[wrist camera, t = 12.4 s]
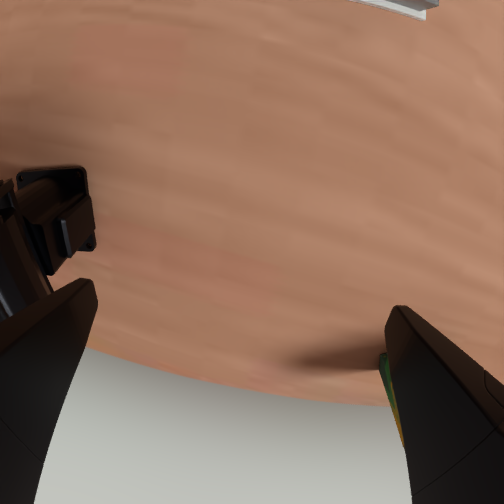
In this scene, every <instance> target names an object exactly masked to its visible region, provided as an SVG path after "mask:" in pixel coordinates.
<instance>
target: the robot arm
mask: <svg viewBox="0 0 504 504" xmlns="http://www.w3.org/2000/svg"><path fill="white" fill-rule="evenodd" d="M78 172H80V173H81V177H79V176H78ZM21 176H22V177H23V180H22V178H21ZM16 180H17V186H18V191H17V192H15V193H14V190H13V188H14V184H13V181H12V178H11V179H8V180H6V181H3V180H0V504H34V500H35V495H36V492H37V488H38V484H39V480H40V476H41V473H42V469H43V465H44V464H43V463H44V461H45V458H46V454H47V451H48V447H49V444H50V441H51V438H52V435H53V432H54V429H55V426H56V423H57V420H58V417H59V414H60V411H61V409H62V406H63V403H64V400H65V397H66V395H67V392H68V390H69V387H70V384H71V382H72V379H73V377H74V374H75V371H76V369H77V366H78V364H79V362H80V359H81V356H82V354H83V352H84V349H85V346H86V343H87V340H88V337H89V333H90V330H91V327H92V324H93V321H94V317H95V314H96V311H97V308H98V299H97V295H96V291H95V287H94V283H93V281H92V280H91V279H85V278H79V279H77V280H75V281H73V282H71V283H69V284H67V285H66V286H64V287H62V288H60V289H58V290H56V291H55V292H54V291H53V288H52V286H51V284H50V282H49V280H48V278H47V276H46V275H49V276H52V275H54V274H55V272H56V271H57V270H58V269H59V267H60V266H61V265H62V264H63V263H64V261H65V260H66V259H67V258H71V257H72V256H73V255H74V254H75V252H76V251H86V252H91V251H93V250H94V249H95V248H96V238H95V233H94V230H95V222H94V215H93V208H92V201H91V197H90V196H89V191H88V182H87V173H86V170H85V169H84V168H83V167H64V168H50V169H38V170H27V171H21V172H19V173H18V174H17V176H16ZM88 243H90V244H91V246H89V245H88ZM384 333H385V340H386V347H387V355H388V363H389V371H390V377H391V382H392V386H393V391H394V395H395V400H396V405H397V410H398V415H399V420H400V425H401V430H402V436H403V441H404V447H405V453H406V459H407V466H408V473H409V480H410V487H411V495H412V504H504V385H503V384H502V383H500V382H499V381H498V380H497V379H496V378H494V377H493V376H492V375H491V374H490V373H489V372H488V371H486V370H484V368H483V367H482V366H480V365H479V364H478V363H477V362H476V361H475V360H473V359H472V358H471V357H470V356H469V355H467V354H466V353H465V352H464V351H463V350H461V349H460V348H459V347H458V346H457V345H455V344H454V343H453V342H452V341H450V340H449V339H448V338H447V337H446V336H444V335H443V334H442V333H441V332H439V331H438V330H437V329H436V328H434V327H433V326H432V325H431V324H429V323H428V322H427V321H426V320H424V319H423V318H422V317H421V316H419V315H418V314H417V313H416V312H414V311H413V310H412V309H411V308H409V307H408V306H405V305H396V306H394V307H393V309H392V311H391V313H390V316H389V318H388V320H387V323H386V325H385V330H384Z"/></svg>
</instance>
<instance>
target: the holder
mask: <svg viewBox="0 0 504 504" xmlns="http://www.w3.org/2000/svg"><path fill="white" fill-rule="evenodd" d="M348 1H353V2H357V3H362V4H366V5H370V6H374V7H377V8H381V9H385V10H388V11H391V12H395V13H398V14H401V15H404V16H407V17H410V18H413V19H416V20H419V21H425V20H426V9H430V8H433V7H437V6H439V0H348Z"/></svg>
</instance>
